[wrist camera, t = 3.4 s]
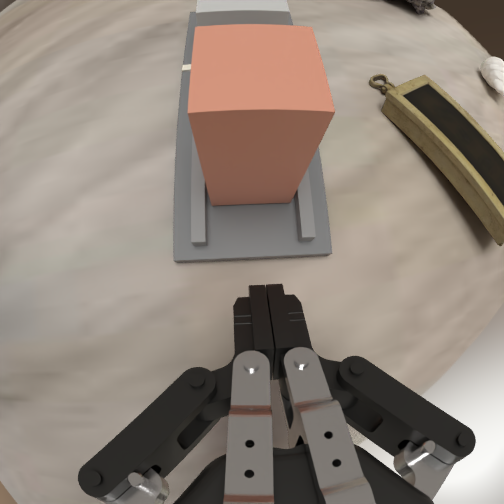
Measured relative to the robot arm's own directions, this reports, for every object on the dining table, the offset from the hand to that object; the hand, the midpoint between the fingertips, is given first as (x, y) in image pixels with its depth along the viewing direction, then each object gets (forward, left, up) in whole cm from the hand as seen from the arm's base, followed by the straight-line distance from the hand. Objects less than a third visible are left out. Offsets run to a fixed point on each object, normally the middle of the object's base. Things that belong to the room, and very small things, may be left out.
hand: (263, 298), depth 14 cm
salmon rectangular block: (-5, +9, -8) cm, 13 cm away
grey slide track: (-9, +16, -9) cm, 21 cm away
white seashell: (+19, +43, -10) cm, 48 cm away
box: (+11, +22, -10) cm, 27 cm away
